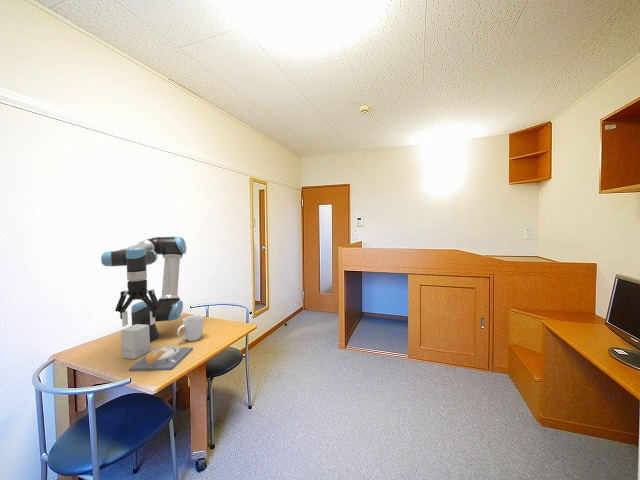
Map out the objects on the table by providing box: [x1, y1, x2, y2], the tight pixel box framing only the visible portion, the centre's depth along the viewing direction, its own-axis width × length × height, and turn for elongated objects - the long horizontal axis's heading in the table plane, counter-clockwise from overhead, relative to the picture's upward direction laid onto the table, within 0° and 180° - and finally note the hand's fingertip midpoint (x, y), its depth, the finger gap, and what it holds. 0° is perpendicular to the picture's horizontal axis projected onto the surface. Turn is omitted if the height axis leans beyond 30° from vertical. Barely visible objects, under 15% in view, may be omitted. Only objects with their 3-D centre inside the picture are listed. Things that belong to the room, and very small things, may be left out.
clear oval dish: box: [145, 347, 175, 364], centre depth 121 cm, size 16×10×6 cm, turn 1°
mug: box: [176, 314, 204, 342], centre depth 147 cm, size 15×11×13 cm
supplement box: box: [120, 324, 151, 360], centre depth 130 cm, size 9×9×15 cm
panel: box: [128, 345, 194, 372], centre depth 125 cm, size 20×20×4 cm
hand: (139, 324), depth 116 cm, fingers open, 12 cm apart
